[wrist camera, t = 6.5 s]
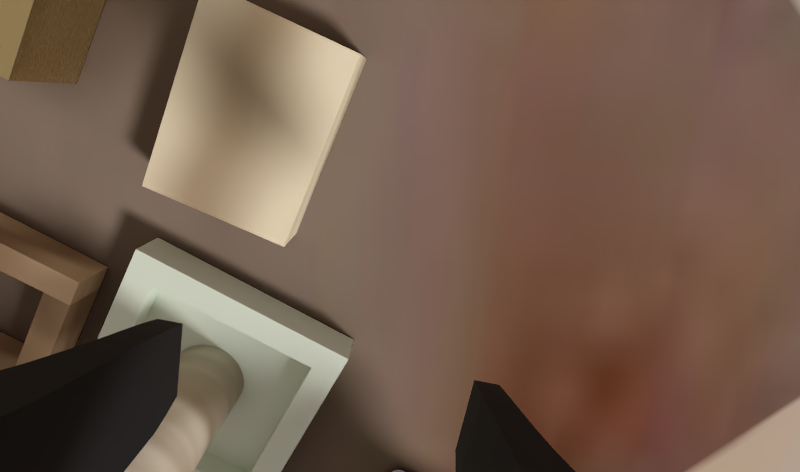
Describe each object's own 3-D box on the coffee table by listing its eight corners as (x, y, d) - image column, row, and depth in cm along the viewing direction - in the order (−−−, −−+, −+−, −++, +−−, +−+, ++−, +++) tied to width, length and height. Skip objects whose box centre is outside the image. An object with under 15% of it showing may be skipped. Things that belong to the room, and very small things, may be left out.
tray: (353, 339, 23) (348, 359, 21) (264, 490, 26) (253, 518, 24) (158, 237, 22) (135, 249, 20) (84, 404, 25) (59, 427, 23)
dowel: (184, 333, 23) (60, 454, 15) (254, 363, 23) (168, 499, 15) (161, 392, 24) (34, 534, 16) (228, 421, 24) (135, 575, 16)
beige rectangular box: (367, 59, 20) (361, 54, 18) (298, 230, 22) (283, 246, 20) (230, -5, 20) (204, -20, 17) (172, 176, 22) (142, 185, 19)
